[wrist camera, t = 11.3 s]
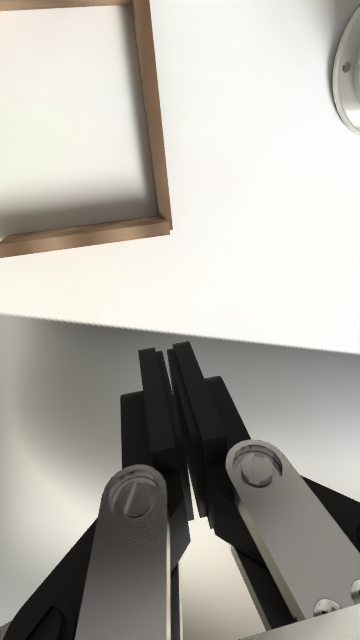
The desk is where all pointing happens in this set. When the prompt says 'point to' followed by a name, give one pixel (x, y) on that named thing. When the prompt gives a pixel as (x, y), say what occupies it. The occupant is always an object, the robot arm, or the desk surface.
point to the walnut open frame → (163, 221)
